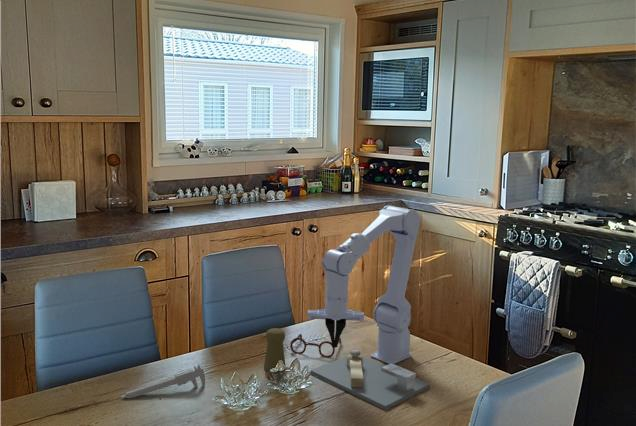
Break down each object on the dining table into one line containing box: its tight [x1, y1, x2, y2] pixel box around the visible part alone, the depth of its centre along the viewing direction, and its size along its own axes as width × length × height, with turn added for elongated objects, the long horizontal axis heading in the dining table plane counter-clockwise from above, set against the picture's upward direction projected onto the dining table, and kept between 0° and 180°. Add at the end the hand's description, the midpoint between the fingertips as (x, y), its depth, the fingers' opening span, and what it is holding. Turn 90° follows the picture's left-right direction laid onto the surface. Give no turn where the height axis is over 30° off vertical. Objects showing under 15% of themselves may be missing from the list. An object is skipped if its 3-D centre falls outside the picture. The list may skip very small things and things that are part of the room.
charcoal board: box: [310, 354, 431, 411], centre depth 161 cm, size 18×26×1 cm
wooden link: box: [347, 349, 363, 387], centre depth 162 cm, size 15×4×4 cm, turn 179°
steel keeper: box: [381, 363, 417, 393], centre depth 156 cm, size 8×4×4 cm, turn 44°
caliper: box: [120, 363, 206, 400], centre depth 151 cm, size 20×1×6 cm, turn 113°
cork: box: [263, 327, 286, 373], centre depth 166 cm, size 6×6×11 cm
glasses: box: [290, 333, 342, 359], centre depth 182 cm, size 13×13×5 cm
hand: (334, 345), depth 160 cm, fingers closed
